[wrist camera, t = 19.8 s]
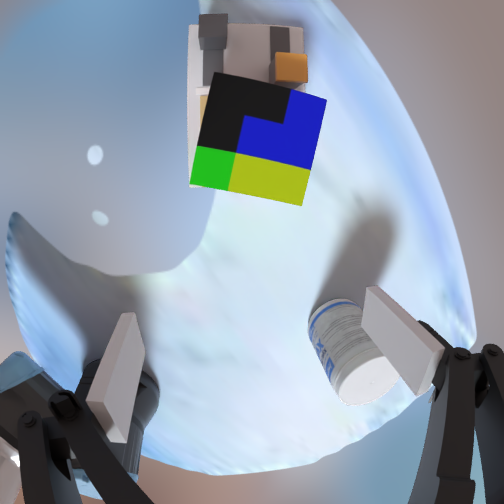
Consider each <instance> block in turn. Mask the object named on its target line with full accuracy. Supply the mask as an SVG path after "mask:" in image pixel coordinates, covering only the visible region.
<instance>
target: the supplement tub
mask: <svg viewBox="0 0 504 504" xmlns="http://www.w3.org/2000/svg"><path fill="white" fill-rule="evenodd" d="M362 316H363V310H362V309H361V308H360V307H359V306H358V305H357V304H356V303H355V302H353V301H351V300H348V299H334V300H331V301H329V302H327V303H325V304H323V305H322V306H320V307H319V308H318V309H317V310H316V311H315V312H314V314H313V315H312V317H311V318H310V321H309V324H308V335H309V338H310V340H311V342H312V345H313V347H314V349H315V351H316V353H317V355H318V357H319V359H320V361H321V364H322V366H323V368H324V370H325V372H326V374H327V376H328V379H329V381H330V383H331V385H332V387H333V389H334V391H335V393H336V394H337V396H338V397H339V399H340V401H341V402H342V403H344V404H346V405H350V406H360V405H364V404H368V403H370V402H373V401H375V400H377V399H378V398H380V397H382V396H383V395H384V394H386V393H387V392H388V391H389V390H390V389H391V388H392V387H393V386H394V385H395V383H396V382H397V381H398V379H399V377H400V375H399V374H398V372H397V371H396V370H395V368H394V367H393V366H392V365H391V363H390V362H389V361H388V359H387V358H386V357H385V356H384V354H383V353H382V352H381V351H380V349H379V348H378V347H377V346H376V344H375V343H374V342H373V341H372V339H371V338H370V337H369V336H368V334H367V333H366V332H365V331H364V329H363V328H362V327H361V322H362Z"/></svg>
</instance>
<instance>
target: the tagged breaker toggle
mask: <svg viewBox="0 0 504 504" xmlns="http://www.w3.org/2000/svg"><path fill="white" fill-rule="evenodd" d="M307 82H308V67H307V55H306V54H296V53H285V52H276V53H275V57H274V59H273V60H272V62H271V63H270V65H269V83H271V84H275V85H279V86H283V87H286V88H290V89H293V90H294V89H296V88H297V87H299V86H300V85H302V84H303V83H307Z"/></svg>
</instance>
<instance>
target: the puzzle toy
mask: <svg viewBox="0 0 504 504" xmlns="http://www.w3.org/2000/svg"><path fill="white" fill-rule="evenodd" d="M326 102H327V100H326V99H323V98H320V97H317V96H313V95H310V94H307V93H304V92H300V91H297V90H293V89H290V88H286V87H283V86H279V85H275V84H271V83H267V82H263V81H258V80H254V79H250V78H245V77H240V76H235V75H230V74H225V73H219V72H214V74H213V78H212V82H211V86H210V90H209V94H208V98H207V102H206V106H205V111H204V115H203V119H202V124H201V128H200V133H199V137H198V142H197V147H196V152H195V157H194V162H193V167H192V172H191V177H190V183H189V184H192V185H198V186H203V187H209V188H214V189H220V190H225V191H231V192H236V193H241V194H246V195H251V196H256V197H261V198H266V199H271V200H276V201H280V202H285V203H290V204H294V205H299V206H302V203H303V199H304V195H305V191H306V187H307V183H308V179H309V175H310V171H311V167H312V163H313V159H314V154H315V150H316V146H317V142H318V138H319V133H320V129H321V125H322V120H323V116H324V111H325V107H326Z"/></svg>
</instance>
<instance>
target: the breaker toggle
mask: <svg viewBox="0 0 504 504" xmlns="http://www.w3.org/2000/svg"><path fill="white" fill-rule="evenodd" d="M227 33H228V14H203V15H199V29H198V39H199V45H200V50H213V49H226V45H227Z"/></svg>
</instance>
